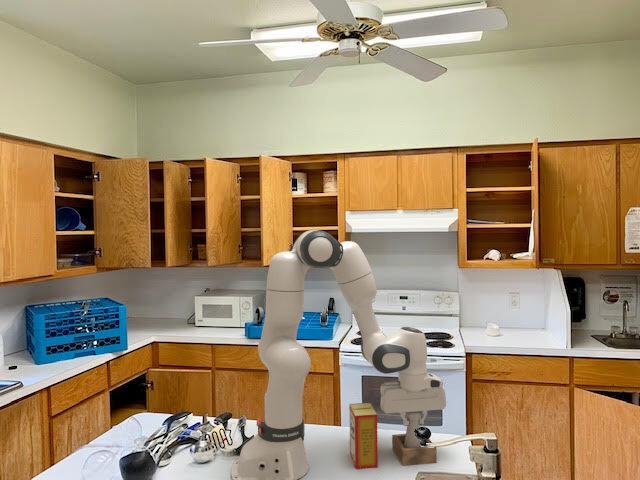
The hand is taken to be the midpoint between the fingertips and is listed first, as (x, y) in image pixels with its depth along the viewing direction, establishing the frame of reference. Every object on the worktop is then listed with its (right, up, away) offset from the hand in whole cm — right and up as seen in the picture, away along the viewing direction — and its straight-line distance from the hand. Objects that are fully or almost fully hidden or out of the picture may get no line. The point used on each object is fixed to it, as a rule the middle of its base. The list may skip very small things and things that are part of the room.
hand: (413, 424), depth 137 cm
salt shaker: (0, -9, 0) cm, 9 cm away
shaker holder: (0, -10, 0) cm, 10 cm away
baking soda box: (-16, -10, -2) cm, 19 cm away
